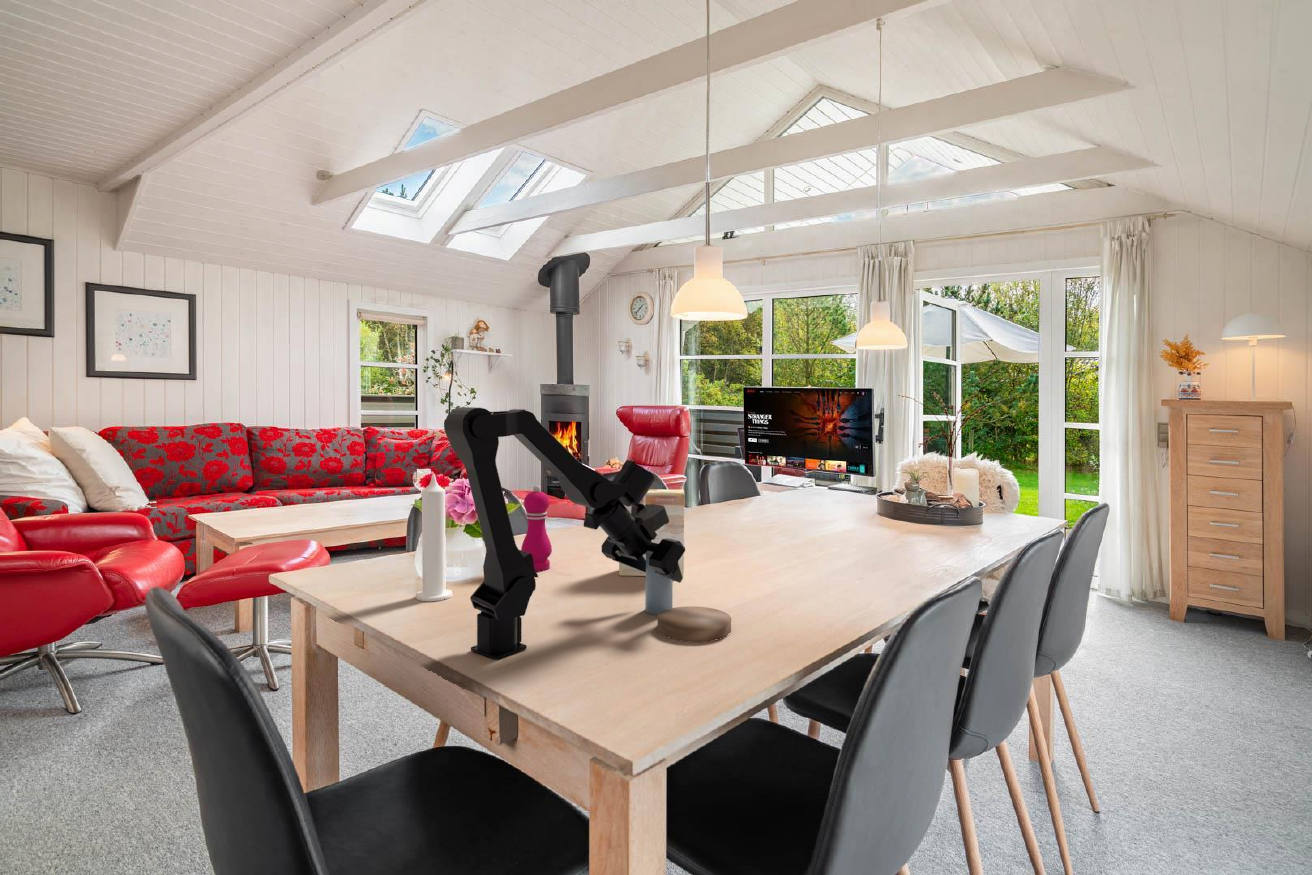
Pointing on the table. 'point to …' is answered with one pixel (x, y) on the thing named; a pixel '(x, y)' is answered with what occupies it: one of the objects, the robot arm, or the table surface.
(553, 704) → the table surface
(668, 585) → the jar
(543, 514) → the pepper mill
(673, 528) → the coffeecake box
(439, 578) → the candle
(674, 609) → the trivet
